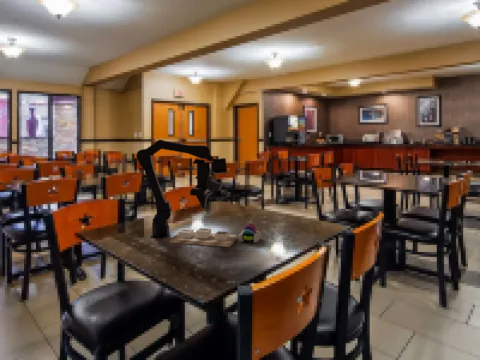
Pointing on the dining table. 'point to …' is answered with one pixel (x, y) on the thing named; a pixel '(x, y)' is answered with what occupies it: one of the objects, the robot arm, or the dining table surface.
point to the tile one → (186, 233)
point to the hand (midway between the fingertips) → (203, 208)
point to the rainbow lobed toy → (250, 233)
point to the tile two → (203, 233)
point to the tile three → (222, 236)
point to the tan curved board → (204, 240)
